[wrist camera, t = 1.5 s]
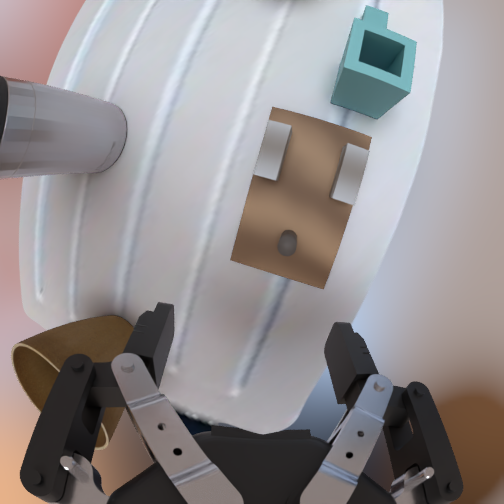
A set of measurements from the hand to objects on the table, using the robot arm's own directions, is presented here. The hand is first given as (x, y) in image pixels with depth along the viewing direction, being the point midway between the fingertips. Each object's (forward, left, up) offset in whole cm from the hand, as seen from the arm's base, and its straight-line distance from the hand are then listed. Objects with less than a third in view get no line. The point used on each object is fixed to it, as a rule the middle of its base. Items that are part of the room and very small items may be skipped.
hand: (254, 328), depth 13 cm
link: (-8, +21, -16) cm, 28 cm away
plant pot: (-6, -25, -16) cm, 30 cm away
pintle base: (-3, +5, -16) cm, 17 cm away
